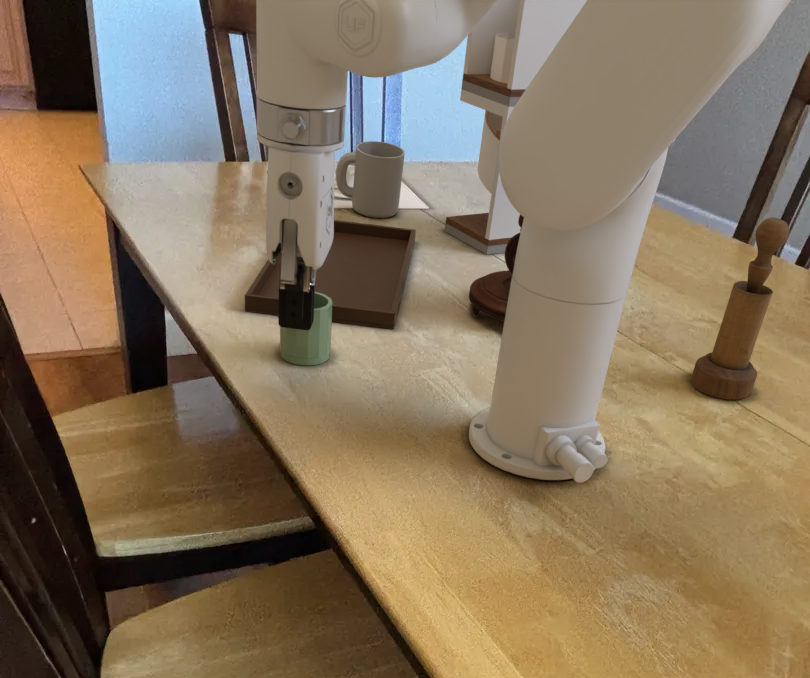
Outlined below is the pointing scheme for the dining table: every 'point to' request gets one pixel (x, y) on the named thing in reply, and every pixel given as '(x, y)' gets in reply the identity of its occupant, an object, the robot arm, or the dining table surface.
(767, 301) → the mortar and pestle
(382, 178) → the cup
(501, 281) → the dark brown wooden piece
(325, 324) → the tumbler
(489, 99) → the white shelf tower
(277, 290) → the tray
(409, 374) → the dining table surface
